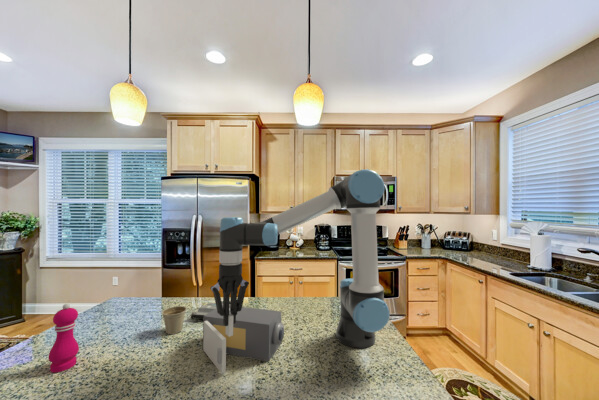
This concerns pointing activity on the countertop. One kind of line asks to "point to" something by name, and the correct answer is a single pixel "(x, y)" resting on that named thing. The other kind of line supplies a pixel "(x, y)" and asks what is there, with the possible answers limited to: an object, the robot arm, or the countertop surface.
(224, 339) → the side door
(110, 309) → the countertop surface
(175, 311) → the flower pot
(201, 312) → the camcorder
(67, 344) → the pepper mill
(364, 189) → the robot arm
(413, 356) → the countertop surface
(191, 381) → the countertop surface
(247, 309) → the camera body
